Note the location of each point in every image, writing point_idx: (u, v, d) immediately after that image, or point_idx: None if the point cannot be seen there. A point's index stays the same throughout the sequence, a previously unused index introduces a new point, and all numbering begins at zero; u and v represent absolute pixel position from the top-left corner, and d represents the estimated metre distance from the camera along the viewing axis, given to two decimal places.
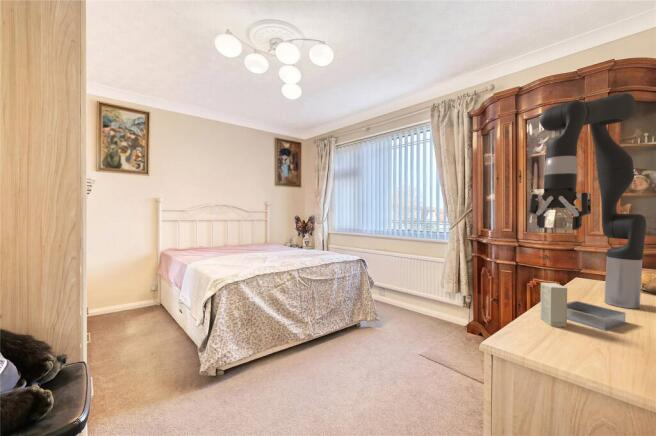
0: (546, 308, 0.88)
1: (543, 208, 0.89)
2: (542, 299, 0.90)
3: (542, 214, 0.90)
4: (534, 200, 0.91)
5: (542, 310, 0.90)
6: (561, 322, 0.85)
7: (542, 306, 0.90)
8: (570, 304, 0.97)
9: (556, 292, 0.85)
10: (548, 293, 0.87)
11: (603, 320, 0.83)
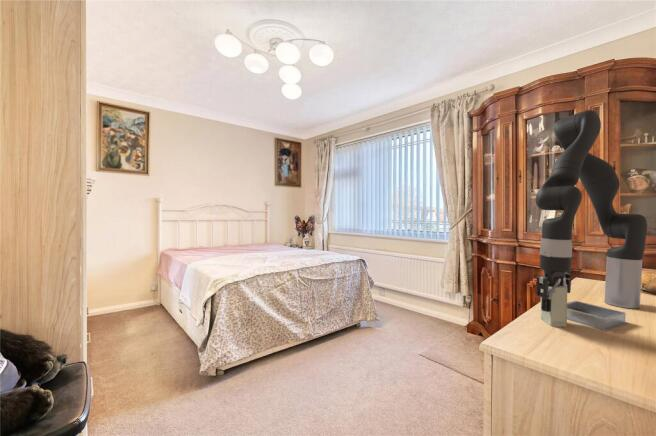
0: None
1: (554, 291, 0.85)
2: None
3: None
4: (547, 284, 0.84)
5: (542, 310, 0.90)
6: (561, 322, 0.85)
7: None
8: (570, 304, 0.97)
9: (556, 292, 0.85)
10: (548, 293, 0.87)
11: (603, 320, 0.83)
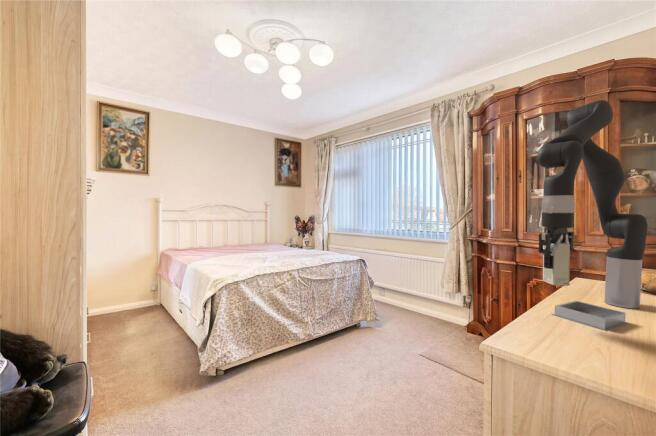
0: None
1: (557, 248, 0.84)
2: None
3: None
4: (549, 240, 0.83)
5: (544, 269, 0.89)
6: (564, 278, 0.84)
7: None
8: (570, 304, 0.97)
9: (559, 248, 0.84)
10: None
11: (603, 320, 0.83)
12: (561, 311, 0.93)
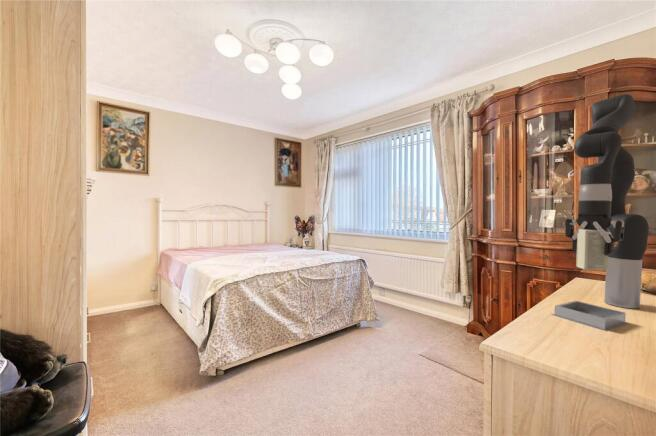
0: (598, 253, 0.89)
1: None
2: (590, 246, 0.89)
3: None
4: None
5: (590, 257, 0.89)
6: None
7: (590, 253, 0.89)
8: (570, 304, 0.97)
9: None
10: None
11: (603, 320, 0.83)
12: (561, 311, 0.93)
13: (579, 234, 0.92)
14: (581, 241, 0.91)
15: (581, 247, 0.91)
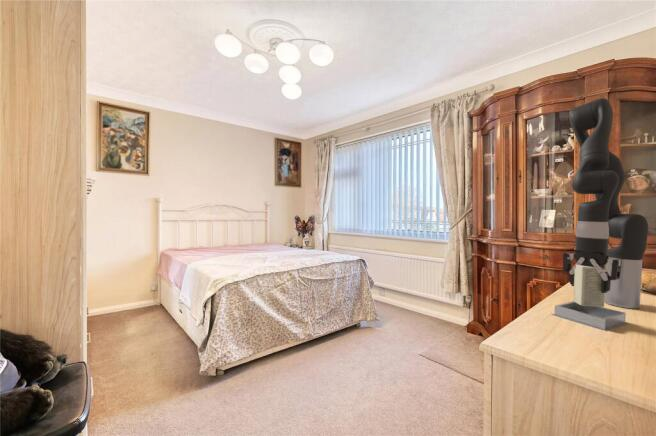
0: (595, 290, 0.89)
1: None
2: (587, 283, 0.90)
3: None
4: None
5: (587, 294, 0.90)
6: None
7: (587, 290, 0.90)
8: (570, 304, 0.97)
9: None
10: None
11: (603, 320, 0.83)
12: (561, 311, 0.93)
13: (576, 269, 0.93)
14: (578, 277, 0.92)
15: (578, 283, 0.92)
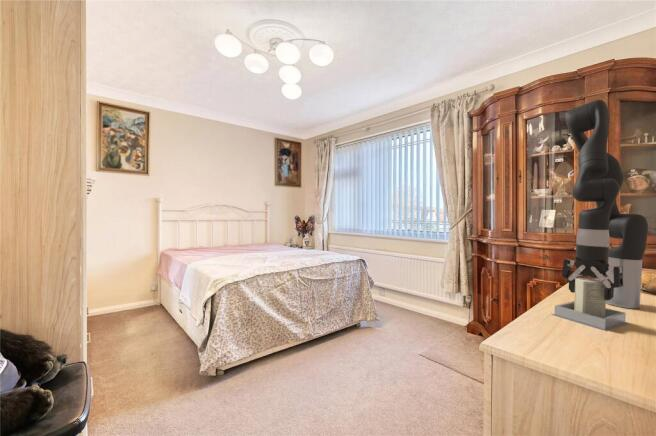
0: (596, 304, 0.89)
1: None
2: (588, 297, 0.90)
3: None
4: None
5: (588, 308, 0.90)
6: None
7: (588, 304, 0.90)
8: (570, 304, 0.97)
9: None
10: (601, 289, 0.89)
11: (603, 320, 0.83)
12: (561, 311, 0.93)
13: (577, 283, 0.93)
14: (579, 291, 0.92)
15: (579, 297, 0.92)
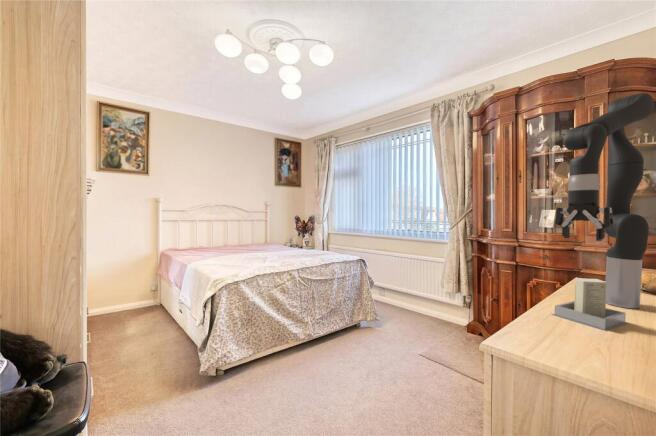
0: (596, 304, 0.89)
1: None
2: (588, 297, 0.90)
3: None
4: None
5: (588, 308, 0.90)
6: None
7: (588, 304, 0.90)
8: (570, 304, 0.97)
9: None
10: (601, 289, 0.89)
11: (603, 320, 0.83)
12: (561, 311, 0.93)
13: (577, 283, 0.93)
14: (579, 291, 0.92)
15: (579, 297, 0.92)
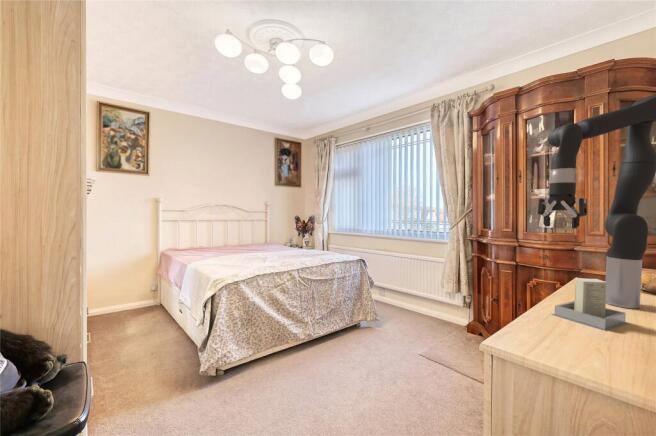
0: (596, 304, 0.89)
1: None
2: (588, 297, 0.90)
3: None
4: None
5: (588, 308, 0.90)
6: None
7: (588, 304, 0.90)
8: (570, 304, 0.97)
9: None
10: (601, 289, 0.89)
11: (603, 320, 0.83)
12: (561, 311, 0.93)
13: (577, 283, 0.93)
14: (579, 291, 0.92)
15: (579, 297, 0.92)
